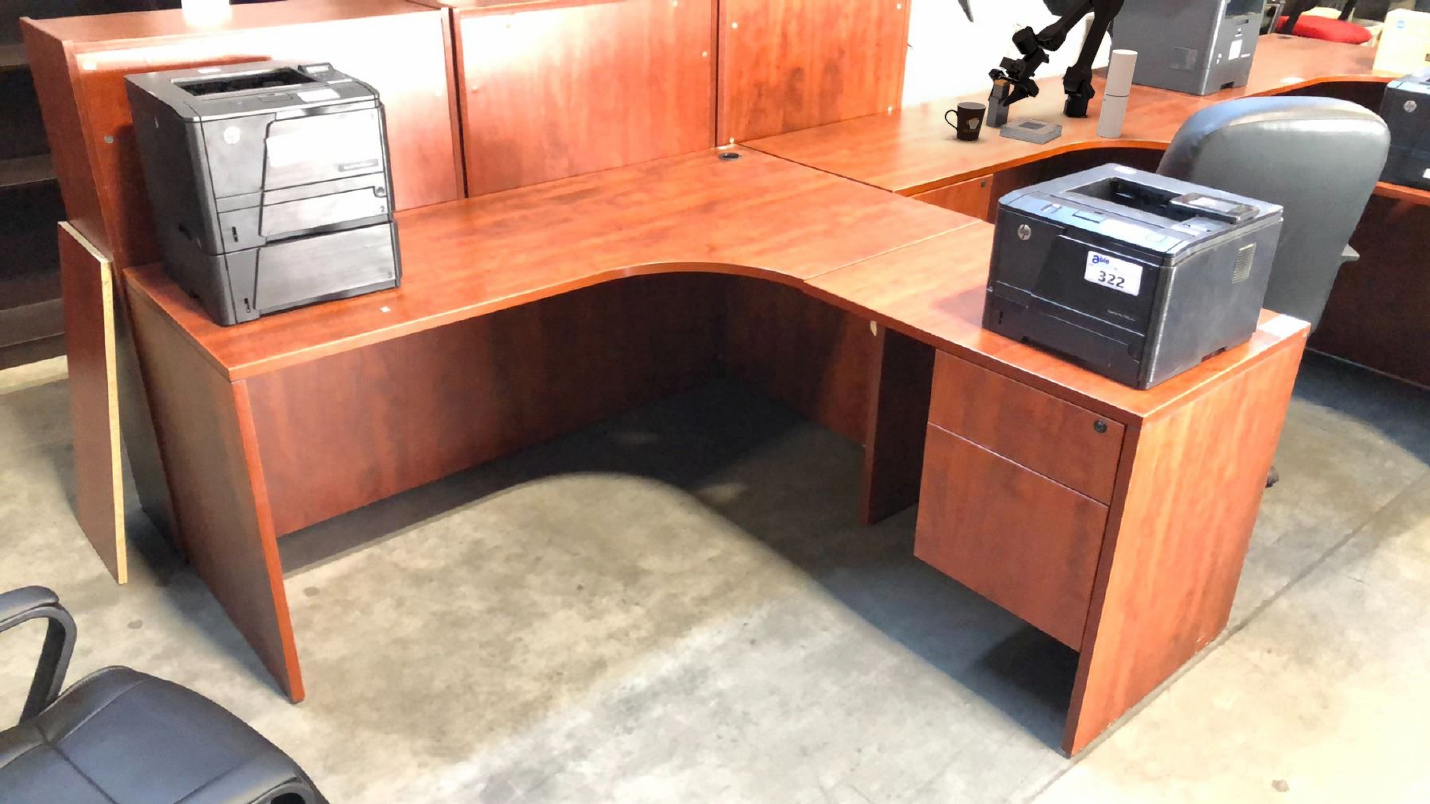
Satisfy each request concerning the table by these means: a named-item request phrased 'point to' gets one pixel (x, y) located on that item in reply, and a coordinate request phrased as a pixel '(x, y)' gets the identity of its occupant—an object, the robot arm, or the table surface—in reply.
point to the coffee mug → (968, 120)
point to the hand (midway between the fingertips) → (996, 103)
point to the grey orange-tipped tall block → (998, 104)
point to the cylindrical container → (1116, 93)
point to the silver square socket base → (1031, 130)
